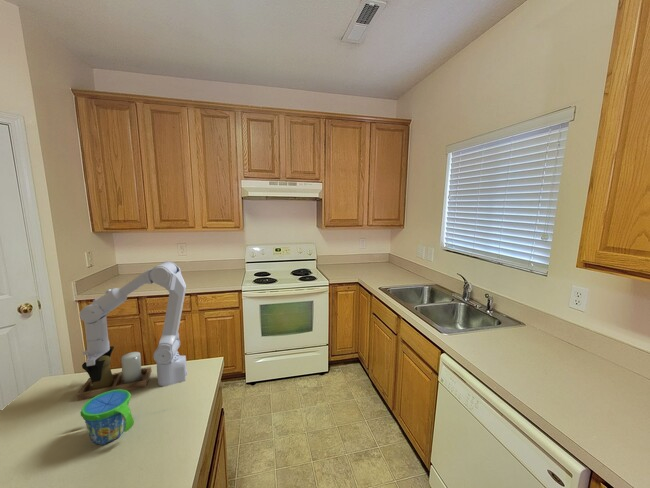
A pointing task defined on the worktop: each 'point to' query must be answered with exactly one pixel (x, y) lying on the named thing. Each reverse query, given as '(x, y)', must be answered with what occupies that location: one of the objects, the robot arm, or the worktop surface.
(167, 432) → the worktop surface
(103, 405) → the snack cup
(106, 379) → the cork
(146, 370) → the caddy
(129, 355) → the salt shaker
